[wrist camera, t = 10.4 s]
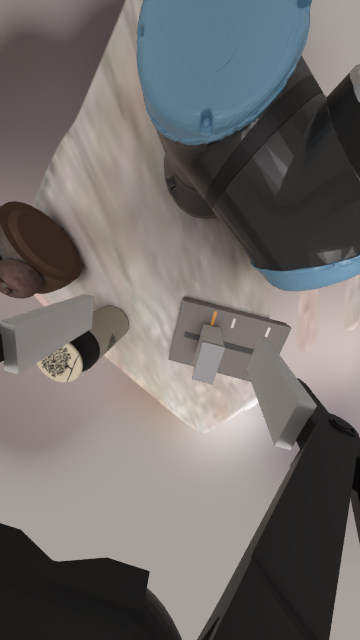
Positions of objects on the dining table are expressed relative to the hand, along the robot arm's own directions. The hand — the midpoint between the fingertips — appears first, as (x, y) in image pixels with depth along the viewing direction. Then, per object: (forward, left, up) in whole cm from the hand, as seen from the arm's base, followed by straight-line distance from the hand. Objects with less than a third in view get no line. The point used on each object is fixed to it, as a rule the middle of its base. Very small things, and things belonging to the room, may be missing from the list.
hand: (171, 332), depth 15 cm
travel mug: (+13, -16, -27) cm, 34 cm away
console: (+10, +10, -27) cm, 30 cm away
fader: (+10, +6, -23) cm, 26 cm away
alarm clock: (0, -28, -27) cm, 39 cm away
